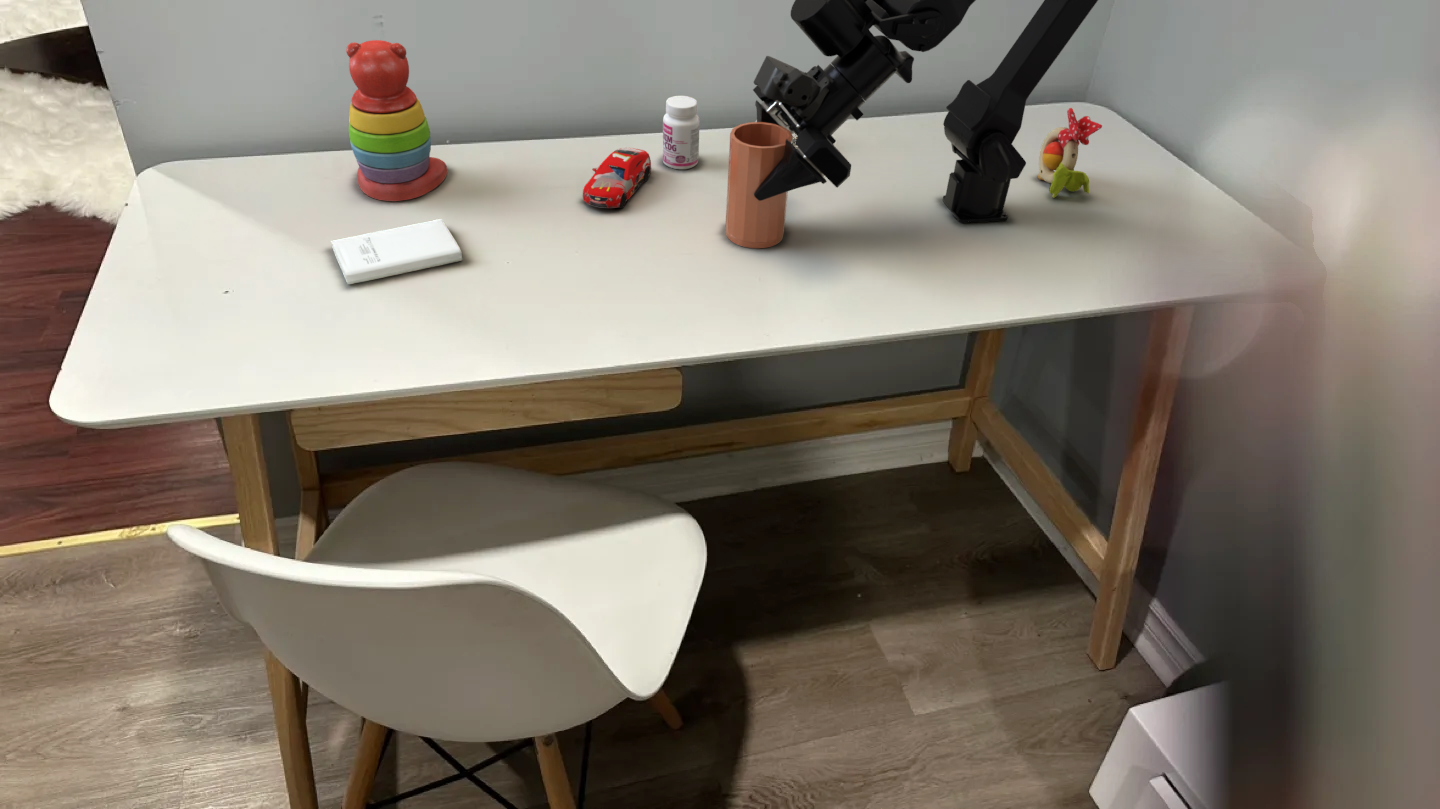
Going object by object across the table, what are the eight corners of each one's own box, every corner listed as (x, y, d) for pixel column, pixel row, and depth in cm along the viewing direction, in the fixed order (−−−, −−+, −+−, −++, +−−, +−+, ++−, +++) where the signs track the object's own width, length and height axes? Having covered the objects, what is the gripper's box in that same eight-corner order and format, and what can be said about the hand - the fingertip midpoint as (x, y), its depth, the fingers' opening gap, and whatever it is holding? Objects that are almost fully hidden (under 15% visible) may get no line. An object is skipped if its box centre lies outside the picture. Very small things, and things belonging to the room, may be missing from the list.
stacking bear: (450, 167, 129) (431, 27, 118) (435, 204, 121) (413, 58, 110) (366, 164, 129) (338, 24, 118) (345, 201, 121) (313, 55, 110)
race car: (617, 217, 121) (616, 187, 118) (576, 208, 122) (574, 178, 120) (658, 172, 131) (658, 143, 128) (620, 164, 132) (619, 135, 129)
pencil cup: (776, 218, 122) (784, 121, 114) (789, 247, 117) (798, 146, 109) (720, 221, 121) (725, 123, 113) (731, 250, 116) (737, 149, 108)
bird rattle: (1019, 197, 134) (1060, 200, 126) (1019, 111, 131) (1061, 109, 122) (1059, 192, 136) (1102, 196, 127) (1060, 107, 132) (1105, 105, 124)
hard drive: (463, 262, 111) (348, 286, 106) (442, 229, 117) (332, 250, 112) (461, 249, 110) (345, 273, 105) (441, 217, 116) (330, 237, 111)
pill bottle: (656, 165, 132) (656, 104, 127) (671, 152, 136) (672, 91, 130) (689, 173, 131) (690, 111, 125) (703, 159, 134) (706, 98, 129)
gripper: (776, 5, 112) (679, 107, 116) (836, 65, 98) (723, 178, 102) (833, 70, 119) (740, 164, 123) (897, 134, 105) (789, 237, 109)
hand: (746, 183), depth 114 cm, fingers closed on pencil cup, 7 cm apart
